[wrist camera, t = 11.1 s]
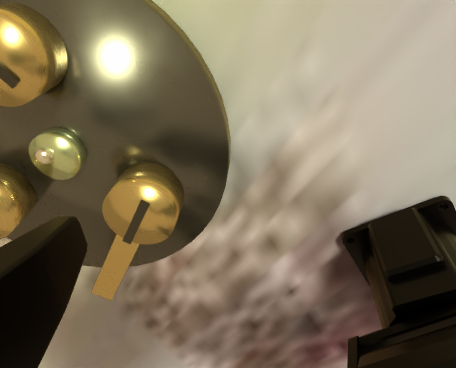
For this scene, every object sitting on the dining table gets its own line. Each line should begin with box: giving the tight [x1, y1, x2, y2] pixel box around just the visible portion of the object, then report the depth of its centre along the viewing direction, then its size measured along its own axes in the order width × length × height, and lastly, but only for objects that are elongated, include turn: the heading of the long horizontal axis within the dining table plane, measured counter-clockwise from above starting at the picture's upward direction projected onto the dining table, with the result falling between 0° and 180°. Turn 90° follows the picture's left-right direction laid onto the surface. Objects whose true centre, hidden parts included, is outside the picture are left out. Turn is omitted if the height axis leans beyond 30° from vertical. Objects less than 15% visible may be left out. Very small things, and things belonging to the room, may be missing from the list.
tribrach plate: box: [0, 0, 230, 267], centre depth 20 cm, size 19×19×3 cm
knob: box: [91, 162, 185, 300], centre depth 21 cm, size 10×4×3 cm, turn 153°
